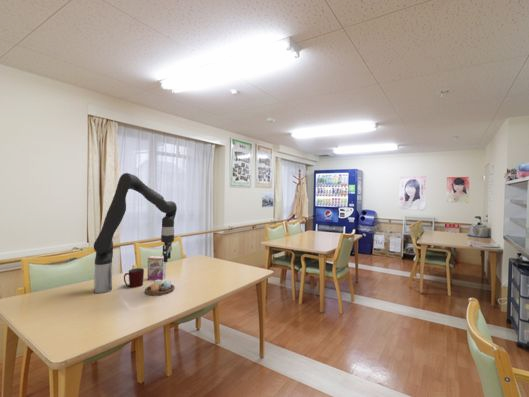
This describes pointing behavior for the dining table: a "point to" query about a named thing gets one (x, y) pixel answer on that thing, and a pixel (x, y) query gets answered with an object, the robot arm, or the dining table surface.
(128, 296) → the dining table surface
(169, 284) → the bead blue
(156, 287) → the bead terracotta
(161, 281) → the bead sage
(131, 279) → the mug
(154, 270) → the candy bar box
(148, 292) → the groove tray
